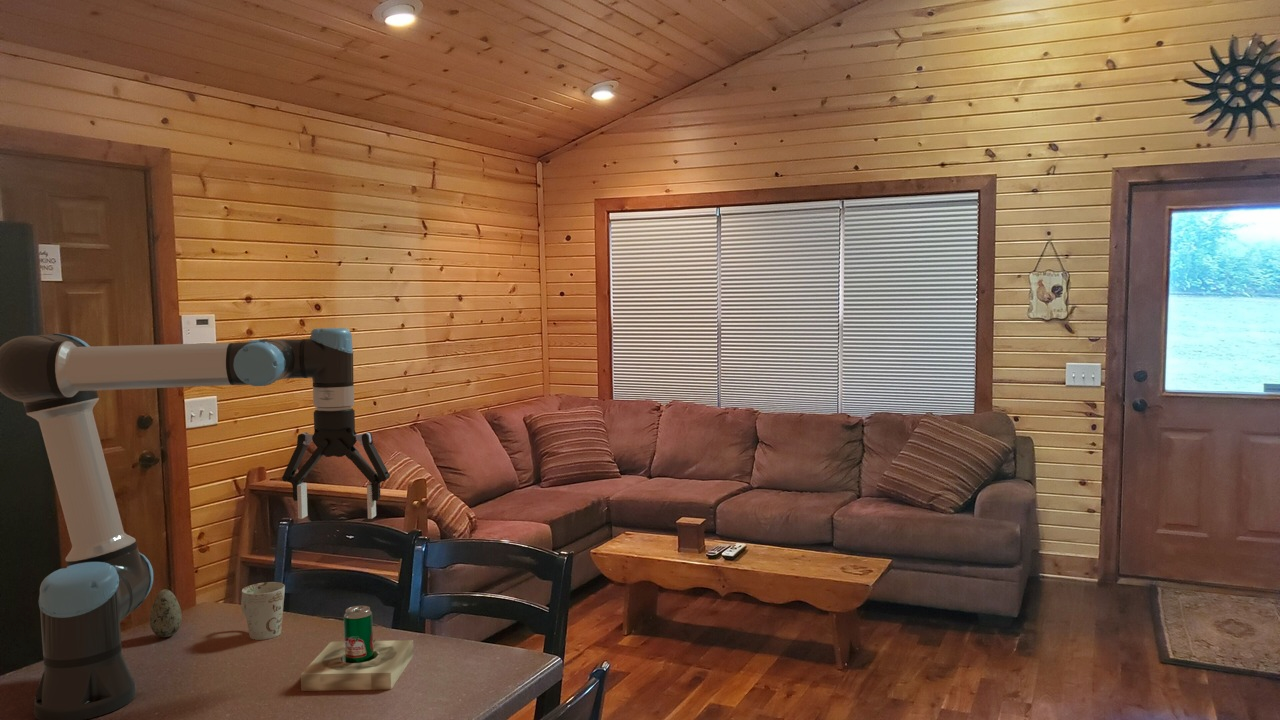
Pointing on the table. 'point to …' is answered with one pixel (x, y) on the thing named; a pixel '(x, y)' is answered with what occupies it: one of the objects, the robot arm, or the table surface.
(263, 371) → the robot arm
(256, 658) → the table surface
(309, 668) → the hub block
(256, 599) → the mug
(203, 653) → the table surface
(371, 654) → the soda can
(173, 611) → the decorative egg
